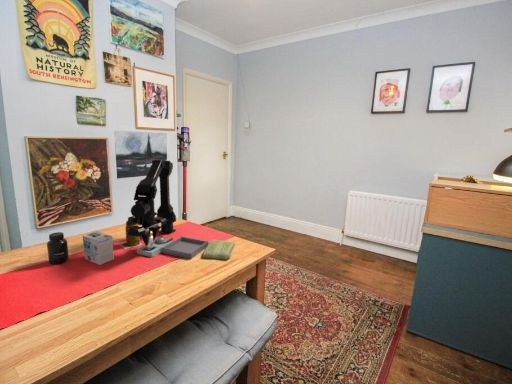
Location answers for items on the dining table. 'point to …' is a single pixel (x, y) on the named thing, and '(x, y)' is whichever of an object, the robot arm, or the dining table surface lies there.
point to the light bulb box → (98, 247)
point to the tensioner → (155, 247)
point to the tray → (185, 247)
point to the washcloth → (218, 249)
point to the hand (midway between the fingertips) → (149, 243)
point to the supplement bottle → (57, 248)
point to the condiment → (131, 238)
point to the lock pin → (150, 242)
